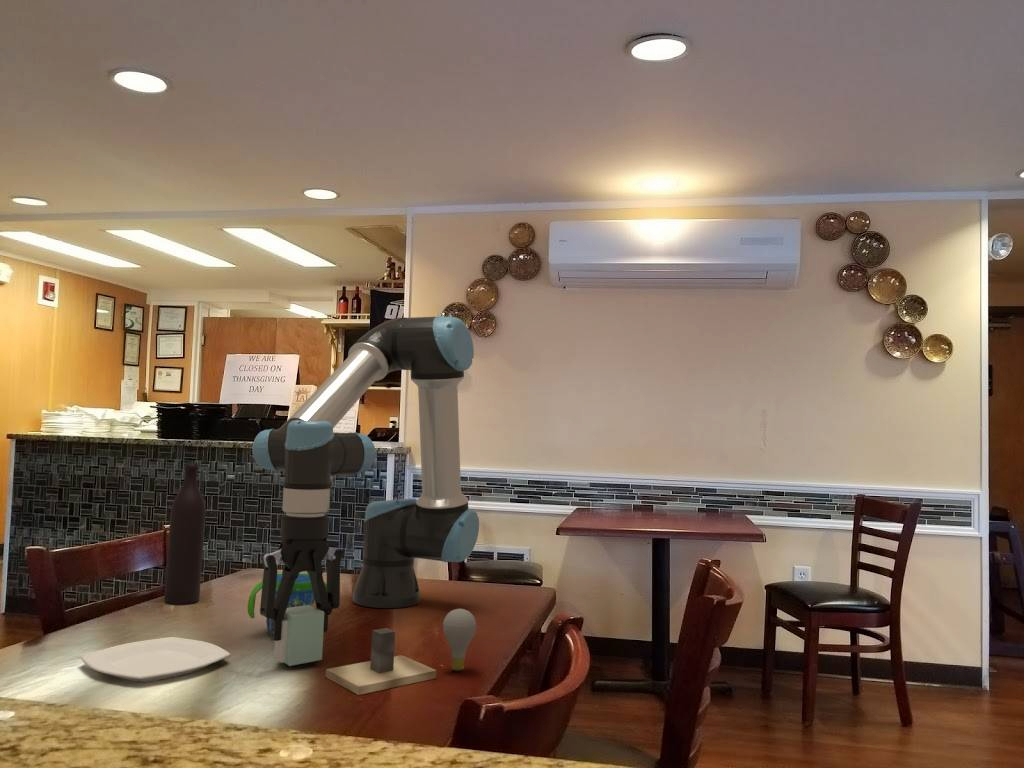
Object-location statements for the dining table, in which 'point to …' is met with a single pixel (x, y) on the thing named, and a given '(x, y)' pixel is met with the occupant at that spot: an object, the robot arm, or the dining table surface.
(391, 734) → the dining table surface
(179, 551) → the wine bottle
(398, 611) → the dining table surface
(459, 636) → the light bulb
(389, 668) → the stand
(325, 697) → the dining table surface
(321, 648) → the grey-green block
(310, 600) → the snack cup
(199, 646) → the plate
